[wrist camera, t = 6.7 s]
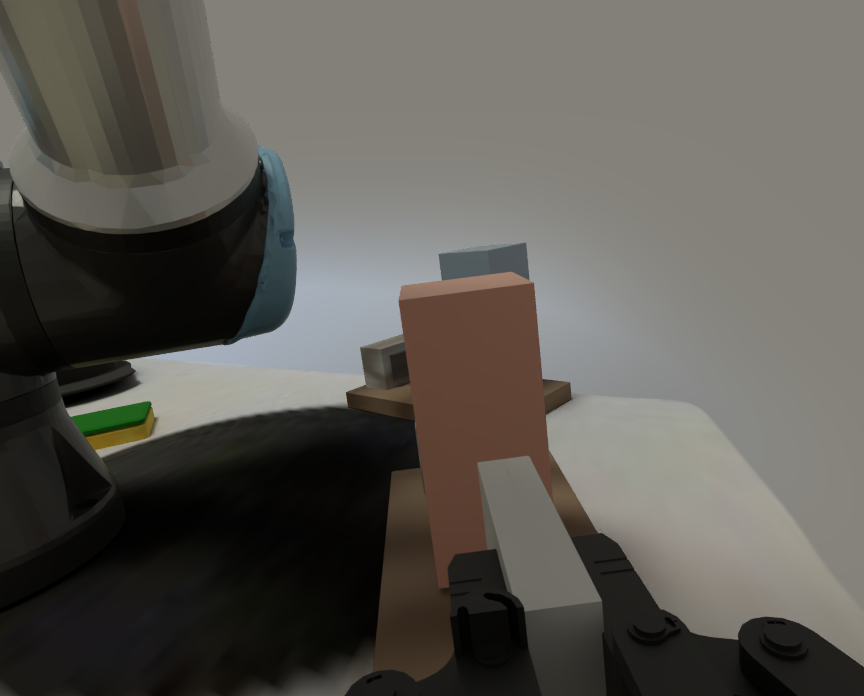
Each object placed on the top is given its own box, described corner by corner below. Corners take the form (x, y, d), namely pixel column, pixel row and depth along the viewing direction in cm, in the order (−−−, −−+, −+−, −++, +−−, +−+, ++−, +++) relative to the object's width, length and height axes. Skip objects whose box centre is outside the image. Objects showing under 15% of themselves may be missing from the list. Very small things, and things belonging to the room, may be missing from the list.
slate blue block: (538, 385, 49) (526, 242, 47) (503, 403, 46) (487, 250, 43) (492, 379, 53) (477, 246, 50) (456, 396, 49) (438, 253, 47)
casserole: (-54, 408, 80) (-73, 348, 78) (85, 370, 95) (72, 319, 93) (23, 425, 66) (1, 353, 64) (173, 377, 80) (159, 318, 79)
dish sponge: (149, 442, 55) (143, 417, 54) (-24, 481, 50) (-32, 455, 50) (156, 421, 61) (150, 399, 61) (3, 454, 57) (-4, 431, 57)
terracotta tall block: (559, 572, 24) (533, 282, 21) (438, 588, 24) (398, 300, 21) (535, 513, 29) (511, 271, 26) (434, 526, 29) (401, 285, 26)
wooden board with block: (571, 398, 50) (566, 336, 49) (502, 439, 43) (494, 368, 42) (420, 378, 63) (413, 329, 62) (348, 407, 56) (339, 352, 55)
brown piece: (682, 713, 19) (676, 562, 18) (375, 753, 19) (349, 605, 18) (551, 473, 37) (544, 390, 36) (395, 493, 37) (382, 411, 36)
